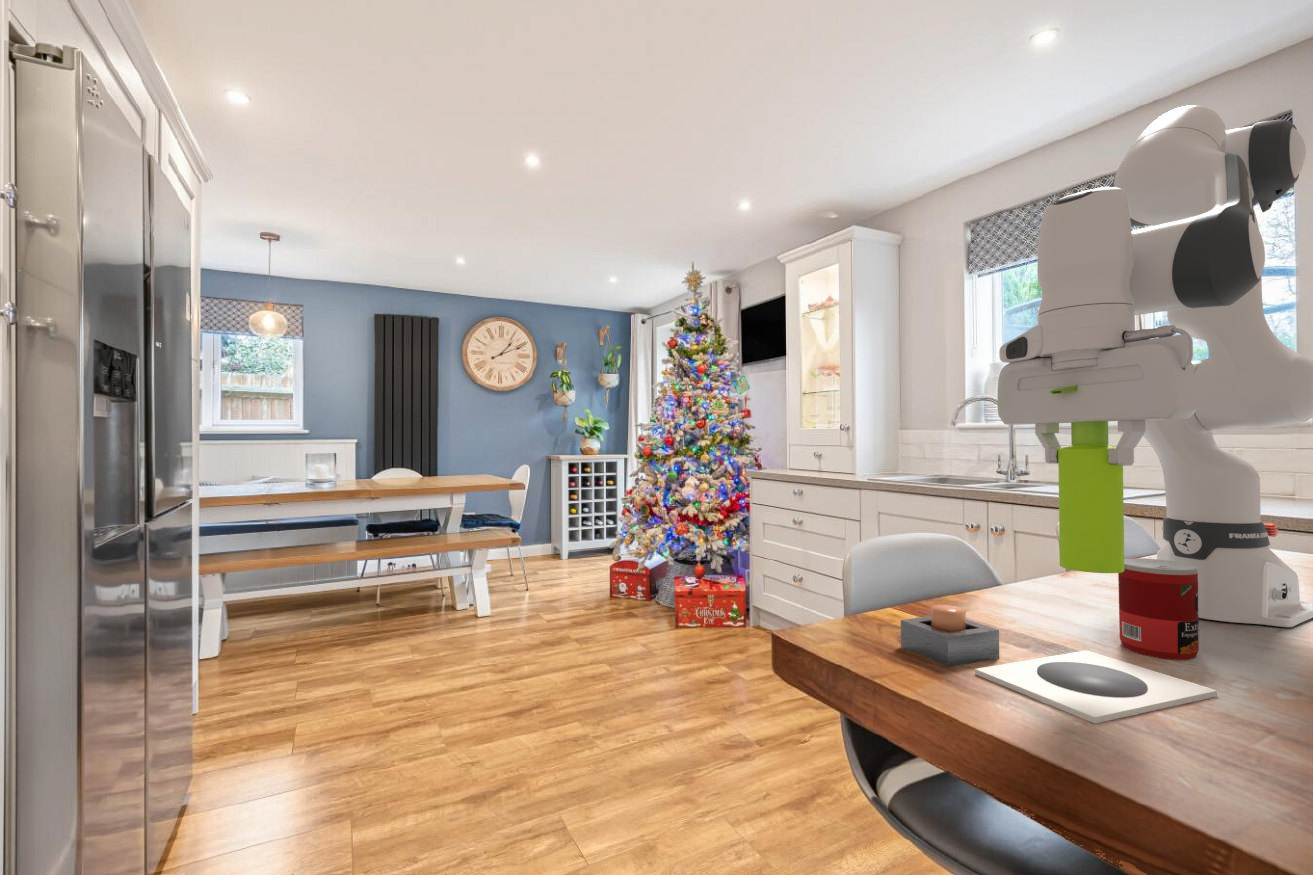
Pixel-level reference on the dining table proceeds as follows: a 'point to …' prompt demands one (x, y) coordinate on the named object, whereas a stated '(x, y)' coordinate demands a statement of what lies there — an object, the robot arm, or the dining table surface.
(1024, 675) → the white tray
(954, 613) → the button
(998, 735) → the dining table surface
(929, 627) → the button housing
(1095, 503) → the soap dispenser
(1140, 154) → the robot arm
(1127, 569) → the canned food
